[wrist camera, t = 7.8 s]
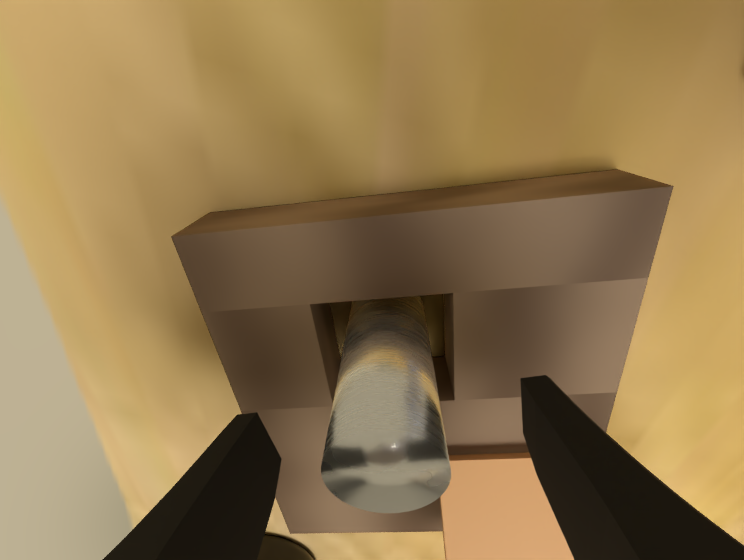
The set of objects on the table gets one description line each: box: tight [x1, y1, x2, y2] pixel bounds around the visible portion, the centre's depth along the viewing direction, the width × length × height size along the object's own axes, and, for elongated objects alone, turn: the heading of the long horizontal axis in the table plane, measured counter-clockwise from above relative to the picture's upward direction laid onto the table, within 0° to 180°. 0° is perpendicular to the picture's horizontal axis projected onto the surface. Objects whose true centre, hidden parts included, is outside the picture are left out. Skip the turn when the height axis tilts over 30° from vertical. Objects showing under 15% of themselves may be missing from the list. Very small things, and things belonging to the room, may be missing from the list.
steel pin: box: [321, 296, 451, 513], centre depth 11 cm, size 3×3×7 cm
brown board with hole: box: [171, 169, 673, 534], centre depth 14 cm, size 14×16×4 cm
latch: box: [440, 452, 574, 560], centre depth 13 cm, size 5×6×1 cm
